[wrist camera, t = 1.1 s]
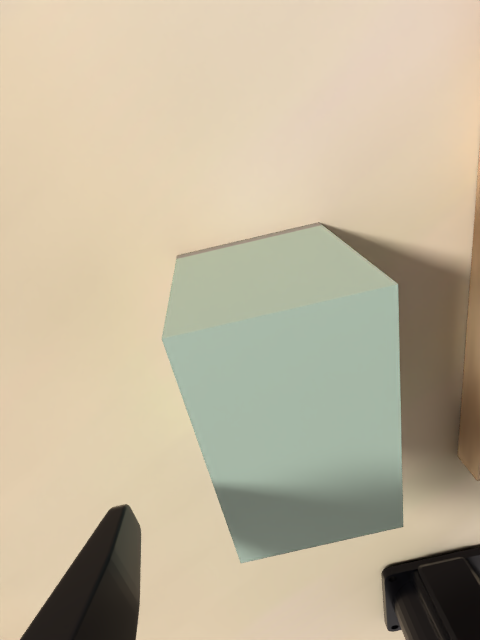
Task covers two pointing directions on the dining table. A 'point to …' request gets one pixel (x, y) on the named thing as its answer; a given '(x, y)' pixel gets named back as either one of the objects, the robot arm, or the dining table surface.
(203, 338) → the block
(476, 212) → the oak board
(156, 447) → the dining table surface
